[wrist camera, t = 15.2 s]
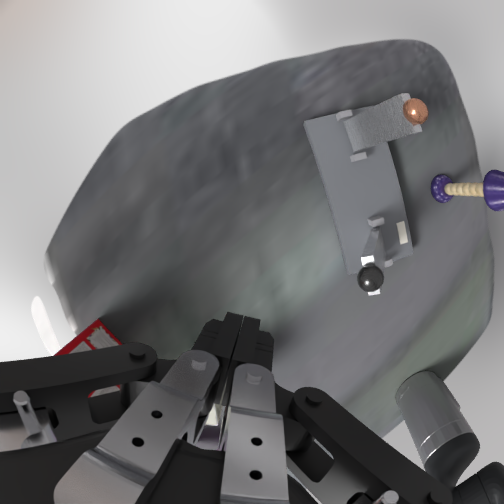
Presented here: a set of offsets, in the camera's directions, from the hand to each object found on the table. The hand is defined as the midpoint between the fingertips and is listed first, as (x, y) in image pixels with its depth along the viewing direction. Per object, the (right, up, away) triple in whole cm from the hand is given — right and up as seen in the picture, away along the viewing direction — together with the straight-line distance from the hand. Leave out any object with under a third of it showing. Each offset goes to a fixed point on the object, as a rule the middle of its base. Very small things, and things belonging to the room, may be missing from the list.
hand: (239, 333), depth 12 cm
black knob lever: (+17, +5, +22) cm, 29 cm away
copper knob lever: (+13, +18, +20) cm, 30 cm away
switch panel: (+15, +12, +24) cm, 31 cm away
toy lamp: (+29, +13, +22) cm, 39 cm away
